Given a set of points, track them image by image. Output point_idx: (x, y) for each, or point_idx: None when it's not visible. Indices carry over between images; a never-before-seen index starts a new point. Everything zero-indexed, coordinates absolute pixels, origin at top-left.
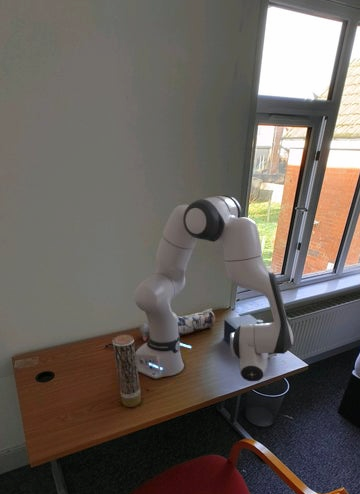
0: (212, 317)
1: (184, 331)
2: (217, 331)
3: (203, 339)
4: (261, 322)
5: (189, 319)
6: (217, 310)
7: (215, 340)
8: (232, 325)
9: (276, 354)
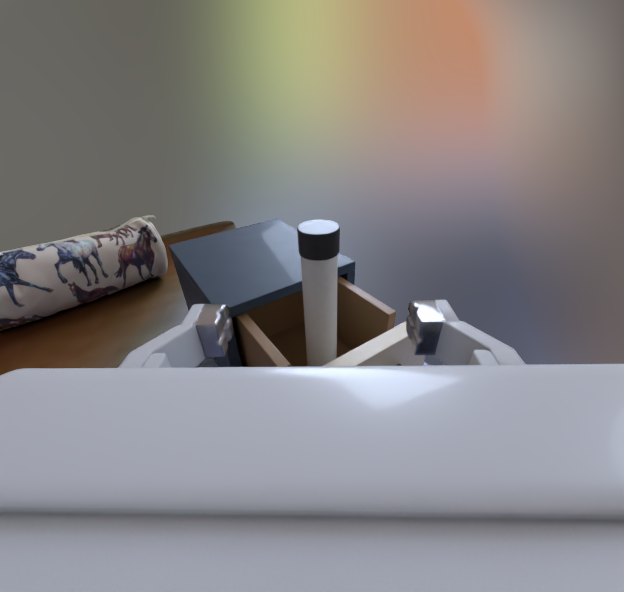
0: (152, 243)
1: (23, 309)
2: (180, 289)
3: (109, 331)
4: (329, 233)
5: (41, 258)
6: (206, 228)
7: (156, 330)
8: (191, 268)
9: None
